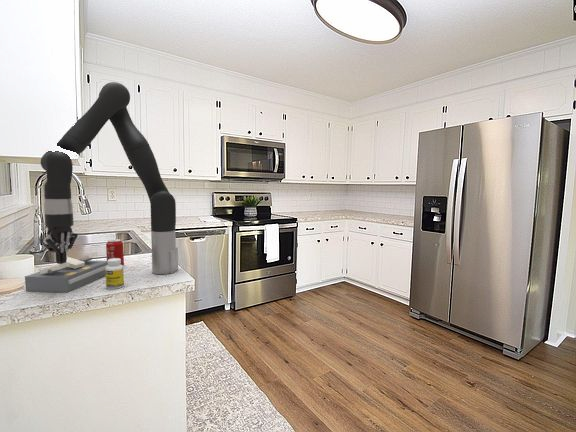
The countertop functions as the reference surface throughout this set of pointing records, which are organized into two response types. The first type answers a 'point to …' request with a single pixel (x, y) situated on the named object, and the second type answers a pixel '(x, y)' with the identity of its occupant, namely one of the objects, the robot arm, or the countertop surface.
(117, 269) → the supplement bottle
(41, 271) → the rocker
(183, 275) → the countertop surface
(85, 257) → the rocker
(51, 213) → the robot arm
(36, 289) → the console
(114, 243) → the beverage can
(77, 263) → the rocker
